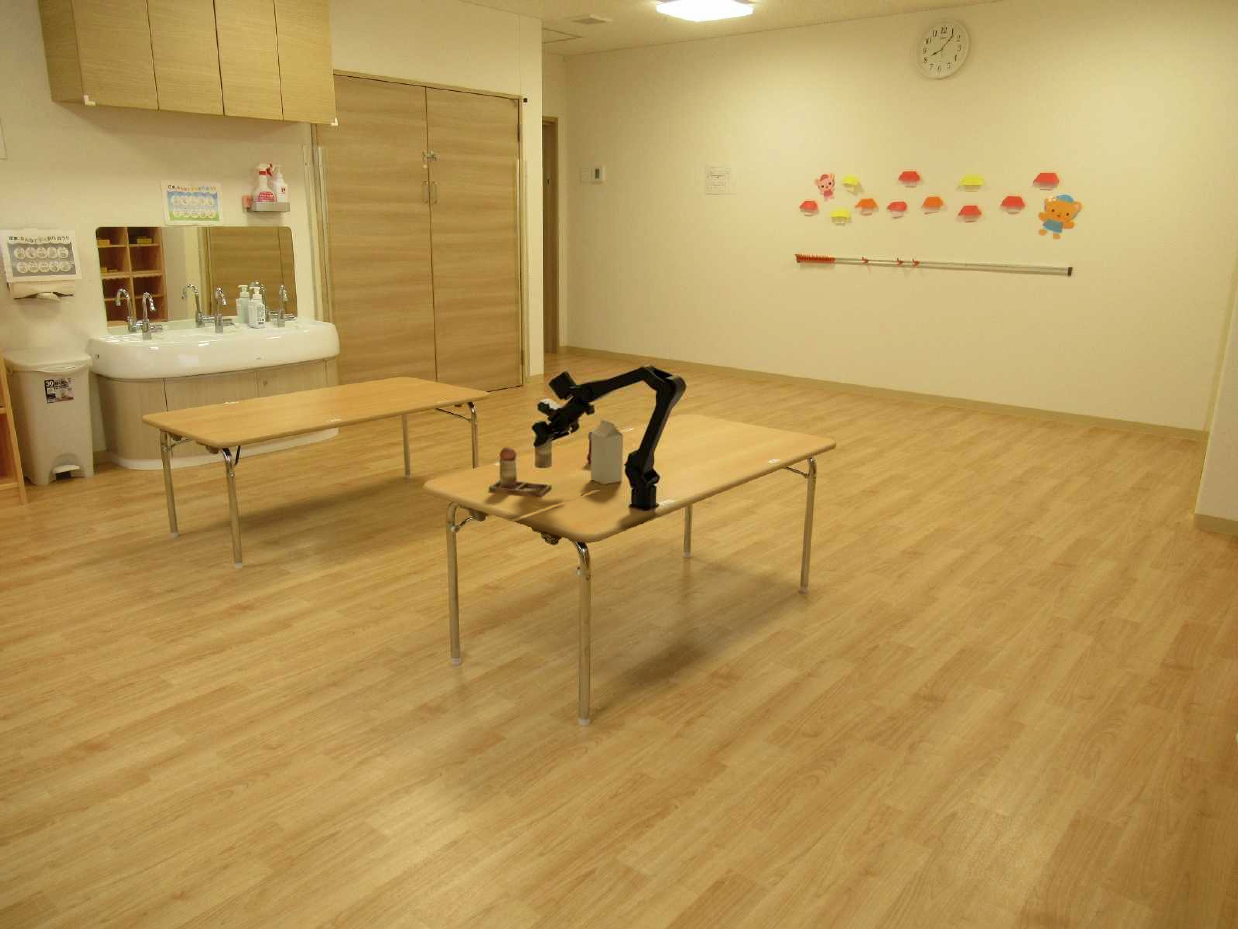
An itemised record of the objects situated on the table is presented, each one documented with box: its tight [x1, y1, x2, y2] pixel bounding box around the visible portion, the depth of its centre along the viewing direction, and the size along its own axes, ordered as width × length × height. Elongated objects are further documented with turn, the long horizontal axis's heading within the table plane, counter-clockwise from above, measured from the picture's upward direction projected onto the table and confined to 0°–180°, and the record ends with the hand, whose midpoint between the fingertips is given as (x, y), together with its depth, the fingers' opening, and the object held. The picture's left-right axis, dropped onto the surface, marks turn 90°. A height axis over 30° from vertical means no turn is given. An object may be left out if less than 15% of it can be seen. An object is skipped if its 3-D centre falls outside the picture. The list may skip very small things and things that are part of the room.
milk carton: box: [590, 419, 624, 485], centre depth 279 cm, size 7×7×19 cm
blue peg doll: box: [534, 433, 553, 469], centre depth 269 cm, size 5×5×13 cm
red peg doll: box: [499, 446, 518, 489], centre depth 266 cm, size 5×5×13 cm
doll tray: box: [488, 479, 553, 498], centre depth 267 cm, size 16×9×2 cm, turn 74°
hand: (539, 444), depth 270 cm, fingers closed on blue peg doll, 5 cm apart
